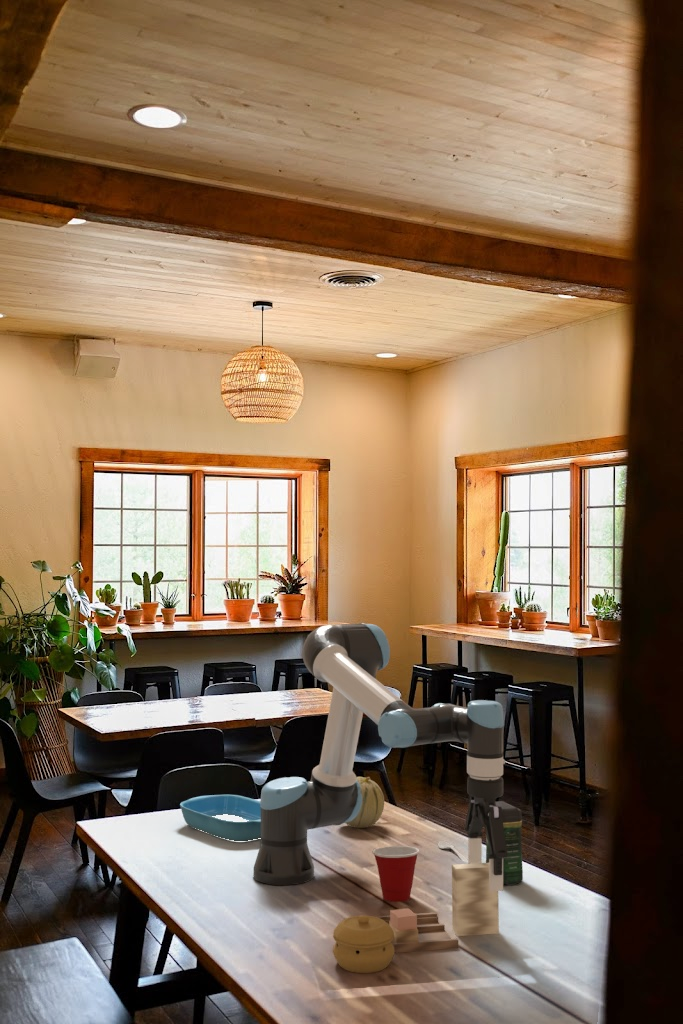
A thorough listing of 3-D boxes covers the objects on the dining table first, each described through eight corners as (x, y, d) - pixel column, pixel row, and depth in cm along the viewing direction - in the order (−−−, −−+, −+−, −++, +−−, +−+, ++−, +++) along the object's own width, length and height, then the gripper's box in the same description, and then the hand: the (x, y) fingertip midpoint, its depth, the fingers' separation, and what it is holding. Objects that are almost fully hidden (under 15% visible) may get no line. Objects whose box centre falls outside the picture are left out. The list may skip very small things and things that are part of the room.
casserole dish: (302, 836, 281) (302, 810, 281) (240, 850, 266) (240, 824, 266) (227, 813, 308) (227, 790, 308) (166, 825, 293) (166, 801, 293)
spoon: (448, 845, 271) (447, 839, 271) (480, 866, 252) (480, 859, 252) (434, 846, 270) (434, 840, 270) (466, 868, 250) (466, 861, 250)
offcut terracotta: (398, 930, 194) (398, 917, 194) (390, 922, 198) (390, 910, 198) (417, 928, 195) (416, 915, 195) (408, 920, 199) (408, 908, 199)
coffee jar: (527, 884, 236) (526, 806, 237) (498, 887, 233) (497, 808, 235) (510, 872, 245) (509, 797, 246) (481, 875, 243) (480, 800, 244)
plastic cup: (407, 892, 230) (406, 840, 231) (428, 906, 220) (427, 852, 221) (365, 897, 226) (364, 845, 227) (384, 912, 216) (384, 857, 217)
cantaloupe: (338, 820, 298) (338, 770, 299) (386, 821, 296) (386, 771, 297) (331, 832, 283) (331, 780, 284) (381, 834, 281) (381, 781, 282)
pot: (403, 978, 181) (402, 923, 182) (342, 985, 178) (342, 929, 178) (382, 954, 192) (382, 903, 193) (325, 961, 189) (325, 908, 190)
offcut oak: (396, 947, 193) (396, 931, 193) (389, 936, 199) (389, 921, 199) (418, 945, 194) (418, 930, 194) (410, 934, 199) (410, 919, 200)
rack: (394, 958, 190) (394, 944, 190) (377, 929, 206) (377, 916, 206) (458, 953, 192) (458, 939, 193) (436, 925, 208) (436, 912, 208)
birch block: (456, 938, 199) (456, 868, 200) (452, 933, 202) (451, 864, 203) (498, 936, 200) (497, 866, 201) (494, 930, 203) (493, 862, 204)
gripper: (524, 789, 192) (524, 898, 191) (483, 763, 216) (483, 860, 215) (487, 790, 190) (487, 900, 189) (450, 764, 215) (450, 861, 214)
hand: (485, 879), depth 202 cm, fingers open, 13 cm apart
